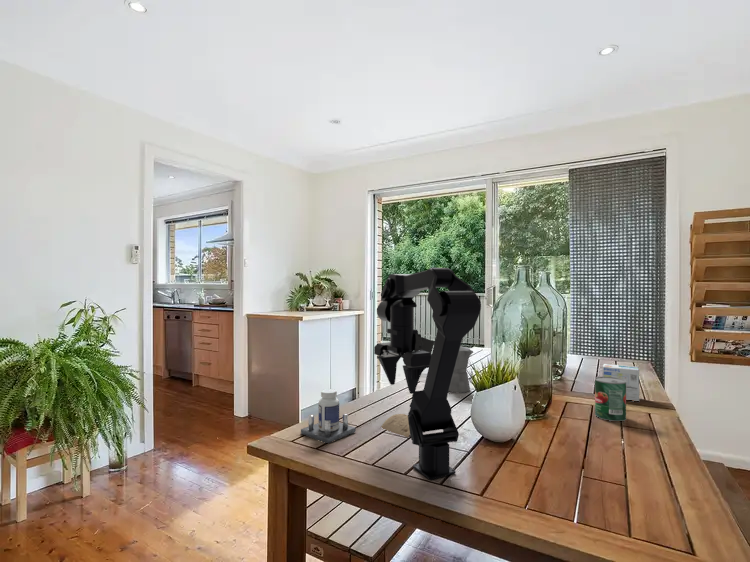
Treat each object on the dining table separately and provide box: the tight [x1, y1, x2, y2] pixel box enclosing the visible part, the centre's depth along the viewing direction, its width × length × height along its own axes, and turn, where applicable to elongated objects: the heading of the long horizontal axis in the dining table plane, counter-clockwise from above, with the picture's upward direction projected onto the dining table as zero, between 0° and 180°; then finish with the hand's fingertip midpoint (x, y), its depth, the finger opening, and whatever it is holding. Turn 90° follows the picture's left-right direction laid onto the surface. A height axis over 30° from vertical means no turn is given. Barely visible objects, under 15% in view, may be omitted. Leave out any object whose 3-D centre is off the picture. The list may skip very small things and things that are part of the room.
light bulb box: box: [602, 363, 641, 402], centre depth 137 cm, size 11×7×11 cm, turn 58°
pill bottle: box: [317, 388, 340, 432], centre depth 104 cm, size 5×5×10 cm
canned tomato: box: [594, 376, 627, 422], centre depth 117 cm, size 8×8×11 cm
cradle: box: [300, 413, 357, 444], centre depth 104 cm, size 10×10×5 cm
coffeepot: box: [448, 345, 474, 394], centre depth 148 cm, size 15×9×18 cm, turn 44°
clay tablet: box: [380, 413, 410, 438], centre depth 110 cm, size 14×10×3 cm
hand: (401, 388), depth 98 cm, fingers open, 9 cm apart
